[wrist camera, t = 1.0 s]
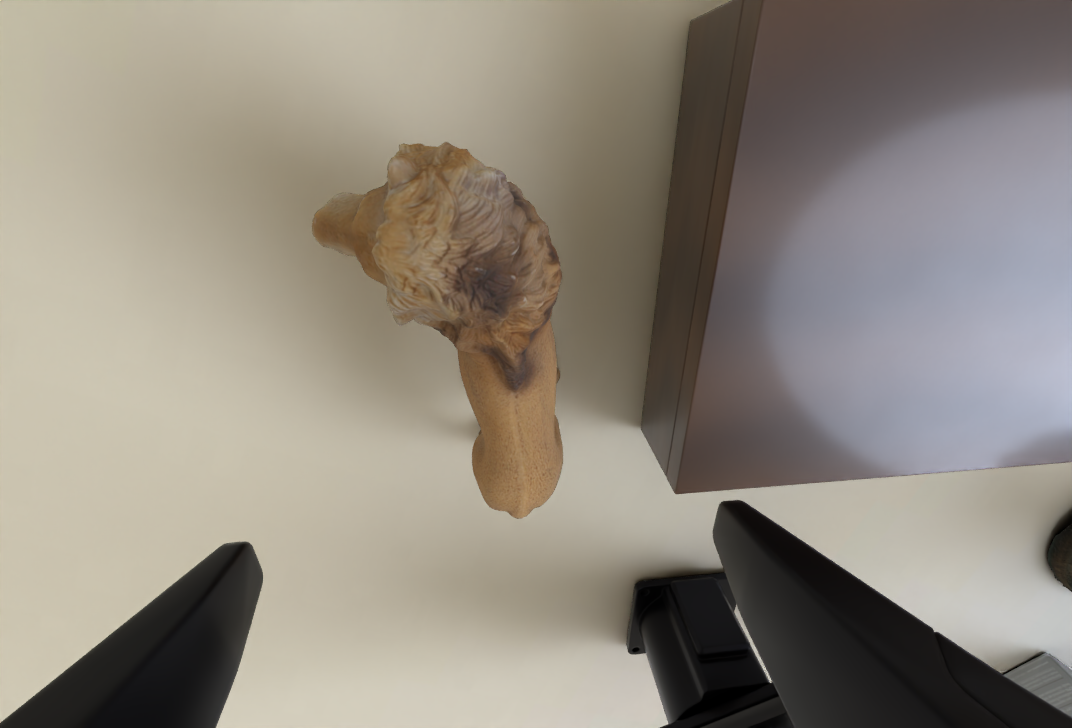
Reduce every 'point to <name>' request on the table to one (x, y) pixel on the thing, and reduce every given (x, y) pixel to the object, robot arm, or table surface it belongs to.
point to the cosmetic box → (1046, 681)
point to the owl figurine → (1062, 557)
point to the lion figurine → (470, 300)
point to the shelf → (866, 244)
